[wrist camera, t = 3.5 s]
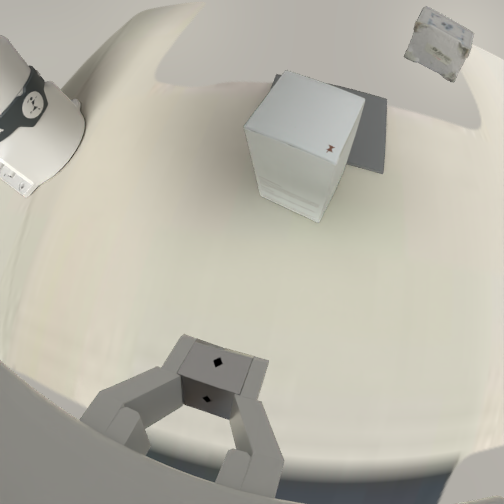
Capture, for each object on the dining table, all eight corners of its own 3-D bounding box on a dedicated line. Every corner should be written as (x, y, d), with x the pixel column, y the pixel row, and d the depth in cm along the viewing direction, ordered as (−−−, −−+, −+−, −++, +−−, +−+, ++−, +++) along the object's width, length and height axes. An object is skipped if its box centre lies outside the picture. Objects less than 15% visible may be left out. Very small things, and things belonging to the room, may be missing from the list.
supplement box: (345, 170, 32) (370, 98, 20) (318, 225, 31) (336, 167, 19) (287, 144, 34) (285, 66, 21) (256, 195, 32) (240, 127, 20)
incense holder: (401, 60, 38) (416, 14, 28) (412, 43, 39) (425, 2, 29) (451, 89, 36) (473, 47, 26) (457, 69, 37) (475, 31, 27)
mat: (251, 143, 34) (251, 141, 34) (276, 76, 38) (276, 74, 37) (382, 174, 32) (383, 172, 32) (386, 100, 35) (386, 99, 35)
